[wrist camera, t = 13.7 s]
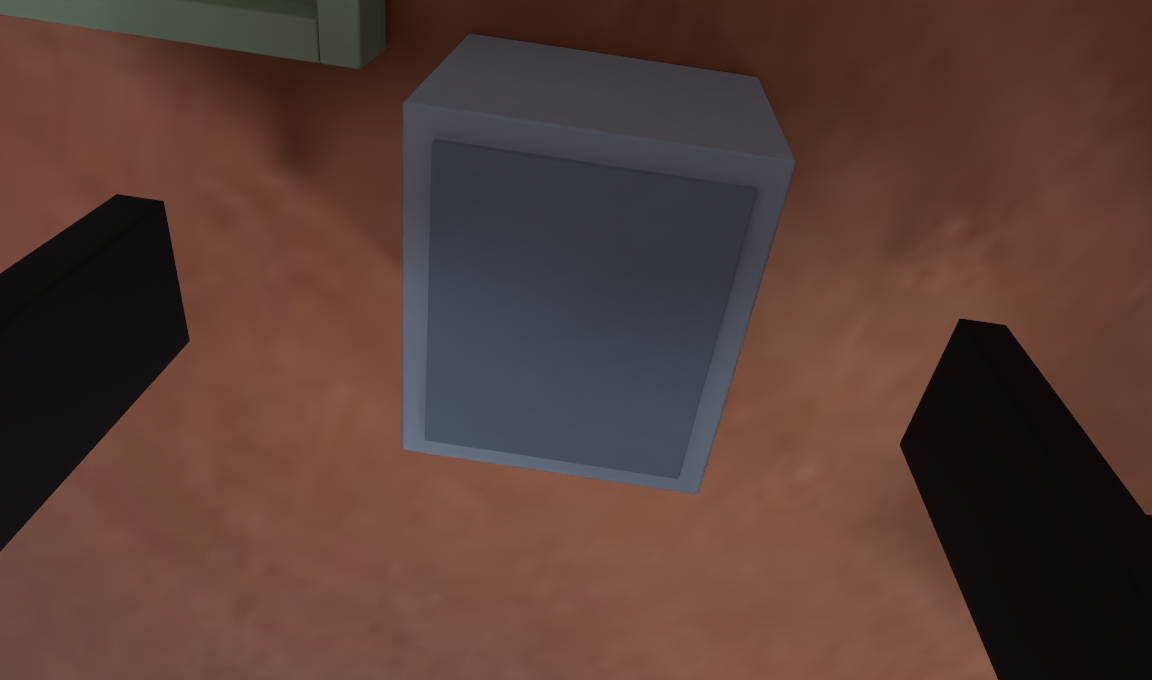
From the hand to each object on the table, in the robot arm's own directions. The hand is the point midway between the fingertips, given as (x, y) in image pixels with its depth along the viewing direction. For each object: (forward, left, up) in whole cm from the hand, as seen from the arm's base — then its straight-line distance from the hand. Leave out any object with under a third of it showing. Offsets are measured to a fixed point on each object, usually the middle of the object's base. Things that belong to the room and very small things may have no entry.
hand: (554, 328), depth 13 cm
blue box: (0, 0, -5) cm, 5 cm away
